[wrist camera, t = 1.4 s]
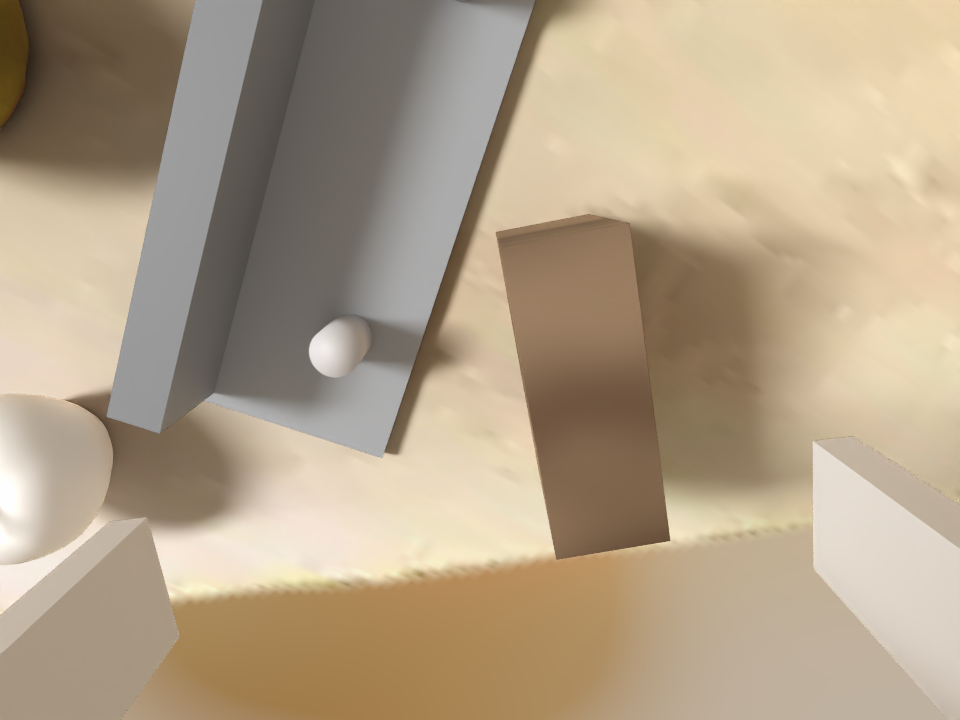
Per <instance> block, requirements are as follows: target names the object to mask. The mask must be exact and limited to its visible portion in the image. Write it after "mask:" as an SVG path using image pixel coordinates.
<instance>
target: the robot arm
mask: <svg viewBox="0 0 960 720" xmlns="http://www.w3.org/2000/svg"><path fill="white" fill-rule="evenodd" d="M813 569H814V570H815V571H816V572H817V573H818V574H819V575H820V576H821V578H822V579H823V580H824V581H825V582H826V583H827V584H828V585H829V587H830V588H831V589H832V590H833V591H834V592H835V593H836V594H837V595H838V597H839V598H840V599H841V600H842V601H843V602H844V603H845V605H846V606H847V607H848V608H849V609H850V610H851V611H852V612H853V614H854V615H855V616H856V617H857V618H858V619H859V620H860V621H861V622H862V624H863V625H864V626H865V627H866V628H867V629H868V630H869V631H870V633H871V634H872V635H873V636H874V637H875V638H876V639H877V640H878V642H879V643H880V644H881V645H882V646H883V647H884V648H885V649H886V650H887V652H888V653H889V654H890V655H891V656H892V657H893V658H894V660H895V661H896V662H897V663H898V664H899V665H900V666H901V667H902V668H903V670H904V671H905V672H906V673H907V674H908V675H909V676H910V677H911V679H912V680H913V681H914V682H915V683H916V684H917V685H918V686H919V687H920V689H921V690H922V691H923V692H924V693H925V694H926V695H927V697H928V698H929V699H930V700H931V701H932V702H933V703H934V704H935V706H936V707H937V708H938V709H939V710H940V711H941V712H942V713H943V714H944V716H945V717H946V718H947V719H948V720H960V504H958V503H957V502H955V501H954V500H952V499H950V498H949V497H947V496H946V495H944V494H943V493H941V492H939V491H938V490H936V489H935V488H933V487H932V486H930V485H929V484H927V483H925V482H924V481H922V480H921V479H919V478H918V477H916V476H914V475H913V474H911V473H910V472H908V471H907V470H905V469H904V468H902V467H900V466H899V465H897V464H896V463H894V462H893V461H891V460H890V459H888V458H886V457H885V456H883V455H882V454H880V453H879V452H877V451H875V450H874V449H872V448H871V447H869V446H868V445H866V444H865V443H863V442H861V441H860V440H858V439H857V438H855V437H854V436H851V437H842V438H834V439H825V440H816V441H813ZM178 638H179V632H178V628H177V625H176V621H175V618H174V614H173V610H172V606H171V603H170V599H169V595H168V592H167V588H166V585H165V581H164V577H163V574H162V570H161V566H160V563H159V559H158V555H157V552H156V548H155V544H154V541H153V537H152V533H151V530H150V526H149V522H148V519H147V517H145V518H136V519H127V520H119V521H110V522H109V523H108V524H106V525H105V526H104V527H103V528H102V529H100V530H99V531H98V532H97V533H96V534H95V535H93V536H92V537H91V538H90V539H89V540H88V541H86V542H85V543H84V544H83V545H82V546H81V547H79V548H78V549H77V550H76V551H75V552H74V553H72V554H71V555H70V556H69V557H68V558H67V559H65V560H64V561H63V562H62V563H61V564H59V565H58V566H57V567H56V568H55V569H54V570H52V571H51V572H50V573H49V574H48V575H47V576H45V577H44V578H43V579H42V580H41V581H40V582H38V583H37V584H36V585H35V586H34V587H33V588H31V589H30V590H29V591H28V592H27V593H26V594H24V595H23V596H22V597H21V598H20V599H18V600H17V601H16V602H15V603H14V604H13V605H11V606H10V607H9V608H8V609H7V610H6V611H4V612H3V613H2V614H1V615H0V720H121V719H122V718H123V717H124V715H125V714H126V712H127V711H128V709H129V708H130V707H131V705H132V704H133V702H134V701H135V699H136V698H137V697H138V695H139V693H140V692H141V691H142V689H143V688H144V686H145V685H146V684H147V682H148V681H149V679H150V678H151V677H152V675H153V674H154V672H155V671H156V670H157V668H158V666H159V665H160V664H161V662H162V661H163V660H164V658H165V657H166V655H167V654H168V652H169V651H170V649H171V648H172V647H173V645H174V644H175V642H176V641H177V640H178Z"/></svg>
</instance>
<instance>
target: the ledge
mask: <svg viewBox="0 0 960 720" xmlns="http://www.w3.org/2000/svg"><path fill="white" fill-rule="evenodd" d="M535 1H536V0H195V4H194V9H193V14H192V18H191V23H190V28H189V33H188V37H187V42H186V47H185V51H184V56H183V61H182V65H181V70H180V75H179V79H178V84H177V89H176V93H175V98H174V103H173V107H172V112H171V117H170V121H169V126H168V131H167V135H166V140H165V145H164V149H163V154H162V159H161V163H160V168H159V173H158V177H157V182H156V187H155V192H154V196H153V201H152V206H151V210H150V215H149V220H148V224H147V229H146V234H145V238H144V243H143V248H142V252H141V257H140V262H139V266H138V271H137V276H136V280H135V285H134V290H133V294H132V299H131V304H130V308H129V313H128V318H127V322H126V327H125V332H124V336H123V341H122V346H121V351H120V355H119V360H118V365H117V369H116V374H115V379H114V383H113V388H112V393H111V397H110V402H109V407H108V411H107V416H106V417H108V418H111V419H115V420H118V421H121V422H124V423H127V424H130V425H134V426H137V427H140V428H143V429H146V430H149V431H152V432H156V433H159V434H160V433H161V432H163V431H164V430H165V429H167V428H168V427H169V426H171V425H172V424H173V423H175V422H176V421H177V420H179V419H180V418H181V417H183V416H184V415H185V414H187V413H188V412H189V411H191V410H192V409H193V408H195V407H196V406H197V405H199V404H200V403H201V402H203V401H207V402H210V403H213V404H216V405H219V406H222V407H225V408H228V409H231V410H234V411H237V412H241V413H244V414H247V415H250V416H253V417H256V418H259V419H262V420H265V421H268V422H272V423H275V424H278V425H281V426H284V427H287V428H290V429H293V430H296V431H299V432H303V433H306V434H309V435H312V436H315V437H318V438H321V439H324V440H327V441H330V442H333V443H337V444H340V445H343V446H346V447H349V448H352V449H355V450H358V451H361V452H364V453H368V454H371V455H374V456H377V457H380V458H382V457H383V455H384V452H385V449H386V446H387V443H388V440H389V437H390V434H391V431H392V428H393V425H394V422H395V419H396V416H397V413H398V410H399V407H400V404H401V401H402V398H403V395H404V392H405V389H406V386H407V383H408V380H409V377H410V374H411V371H412V368H413V365H414V362H415V359H416V356H417V353H418V350H419V347H420V344H421V341H422V338H423V335H424V332H425V329H426V326H427V323H428V320H429V317H430V314H431V311H432V308H433V305H434V302H435V300H436V297H437V294H438V291H439V288H440V285H441V282H442V279H443V276H444V273H445V270H446V267H447V264H448V261H449V258H450V255H451V252H452V249H453V246H454V243H455V240H456V237H457V234H458V231H459V228H460V225H461V222H462V219H463V216H464V213H465V210H466V207H467V204H468V201H469V198H470V195H471V192H472V189H473V186H474V183H475V180H476V177H477V174H478V171H479V168H480V165H481V162H482V159H483V156H484V153H485V150H486V147H487V144H488V141H489V138H490V135H491V132H492V129H493V126H494V123H495V120H496V117H497V114H498V111H499V108H500V105H501V102H502V99H503V96H504V93H505V90H506V87H507V85H508V82H509V79H510V76H511V73H512V70H513V67H514V64H515V61H516V58H517V55H518V52H519V49H520V46H521V43H522V40H523V37H524V34H525V31H526V28H527V25H528V22H529V19H530V16H531V13H532V10H533V7H534V4H535Z"/></svg>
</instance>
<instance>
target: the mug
mask: <svg viewBox="0 0 960 720" xmlns="http://www.w3.org/2000/svg"><path fill="white" fill-rule="evenodd" d="M28 56H29V40H28V35H27V31H26V27H25V23H24V17H23V12H22V9H21V6H20V3H19V0H0V128H1V127H2V126H4V124H5V123H6V122H7V121H8V120H9V119H10V117H11V116H12V114H13V111H14V109H15V107H16V106H17V104H18V103H19V101H20V100H21V98H22V95H23V92H24V89H25V86H26V81H25V74H26V66H27V61H28Z"/></svg>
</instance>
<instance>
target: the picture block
mask: <svg viewBox="0 0 960 720" xmlns="http://www.w3.org/2000/svg"><path fill="white" fill-rule="evenodd" d="M496 236H497V242H498V248H499V253H500V259H501V264H502V270H503V275H504V281H505V286H506V292H507V297H508V303H509V309H510V314H511V320H512V325H513V331H514V336H515V342H516V347H517V353H518V358H519V364H520V370H521V375H522V381H523V386H524V392H525V397H526V403H527V408H528V414H529V419H530V425H531V430H532V436H533V442H534V447H535V453H536V458H537V464H538V469H539V474H540V479H541V484H542V489H543V494H544V499H545V504H546V509H547V514H548V519H549V524H550V529H551V534H552V539H553V544H554V549H555V554H556V560H557V559H563V558H569V557H576V556H582V555H588V554H594V553H600V552H606V551H612V550H618V549H624V548H630V547H636V546H642V545H648V544H654V543H660V542H666V541H670V535H669V527H668V519H667V512H666V504H665V496H664V488H663V480H662V473H661V465H660V457H659V449H658V442H657V434H656V426H655V418H654V410H653V403H652V395H651V387H650V379H649V371H648V364H647V356H646V348H645V340H644V333H643V325H642V317H641V309H640V301H639V294H638V286H637V278H636V270H635V263H634V255H633V247H632V239H631V231H630V224H629V223H625V222H621V221H616V220H612V219H607V218H603V217H598V216H594V215H590V214H587V215H582V216H577V217H572V218H566V219H561V220H556V221H551V222H546V223H540V224H535V225H530V226H525V227H520V228H514V229H509V230H504V231H499V232H496Z"/></svg>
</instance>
